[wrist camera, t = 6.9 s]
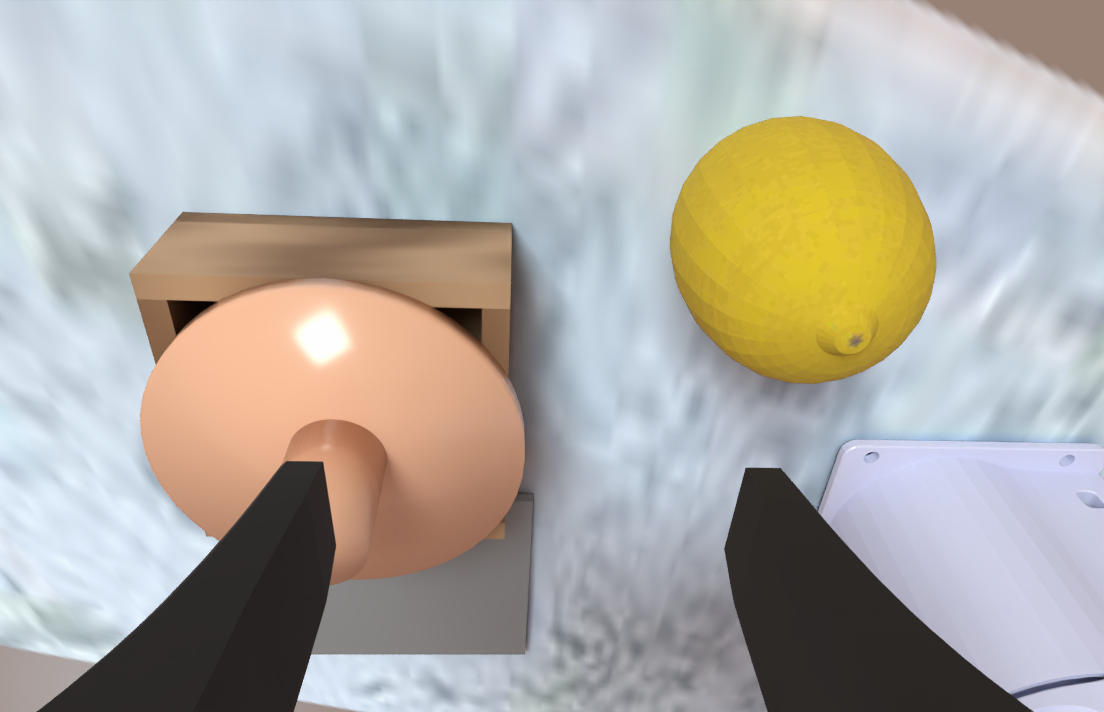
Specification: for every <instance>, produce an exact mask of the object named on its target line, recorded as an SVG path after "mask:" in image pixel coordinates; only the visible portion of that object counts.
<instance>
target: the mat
mask: <svg viewBox="0 0 1104 712" xmlns="http://www.w3.org/2000/svg"><path fill="white" fill-rule="evenodd" d="M532 516H533V493H517V496H516V498H515V500H514V502H513V503H512V505H511V507H510V509H509V511H508V512H507V514H506V515H505V536H504V539H483V540H481V541H480V542H479V543H477V544H476V545H475V546H473V547H472V548H471V549H469V550H467V551H466V552H464V553H462V554H461V555H459V556H457V557H455V558H453V559H451V560H449V561H447V562H444V563H442V564H440V565H438V566H435V567H432V568H429V569H425V570H422V571H419V572H415V573H411V574H406V575H402V576H397V577H389V578H380V579H362V580H350V579H349V580H347V581H345V582H342V583H339V584H334V585H329V591H328V596H327V602H326V605H325V609H324V612H323V616H322V619H321V622H320V626H319V629H318V633H317V636H316V639H315V643H314V646H313V649H312V653H311V654H525V645H526V627H527V608H528V590H529V571H530V553H531V534H532Z"/></svg>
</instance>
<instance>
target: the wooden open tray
mask: <svg viewBox="0 0 1104 712" xmlns="http://www.w3.org/2000/svg"><path fill="white" fill-rule="evenodd" d="M511 249H512V223H493V222H463V221H433V220H403V219H373V218H343V217H313V216H283V215H253V214H223V213H193V212H182V213H181V215H180V216H179V217H178V218H177V219H176V220H175V222H174V223H173V224H172V225H171V226H170V227H169V228H168V230H167V231H166V232H165V233H164V234H163V235H162V236H161V238H160V239H159V240H158V241H157V242H156V243H155V244H154V246H153V247H152V248H151V249H150V250H149V251H148V253H147V254H146V255H145V256H144V257H143V258H142V259H141V261H140V262H139V263H138V264H137V265H136V266H135V267H134V269H133V270H132V271H131V272H130V273H129V275H130V278H131V281H132V285H133V288H134V292H135V295H136V298H137V302H138V305H139V309H140V312H141V315H142V319H143V322H144V326H145V329H146V332H147V336H148V339H149V343H150V346H151V349H152V353H153V356H154V360H155V363H156V364H157V363H158V361H159V359H160V358H161V356H162V355H163V353H164V352H165V350H166V349H167V347H168V346H169V344H170V343H171V341H172V340H173V339H174V338H175V337H176V335H177V334H178V333H179V332H180V331H181V330H182V328H183V327H184V326H185V325H186V324H187V323H188V322H190V321H191V320H192V319H193V318H194V317H196V316H197V315H198V314H199V313H200V312H201V311H203V310H205V309H206V308H208V307H210V306H211V305H213V304H214V303H216V302H218V301H219V300H221V299H223V298H225V297H228V296H230V295H233V294H235V293H237V292H240V291H242V290H244V289H248V288H252V287H255V286H259V285H263V284H266V283H270V282H277V281H284V280H291V279H310V278H327V279H338V280H350V281H356V282H361V283H366V284H370V285H375V286H380V287H383V288H386V289H389V290H392V291H396V292H399V293H402V294H405V295H407V296H409V297H412V298H414V299H416V300H418V301H421V302H423V303H425V304H427V305H430V306H431V307H433V308H435V309H437V310H438V311H440V312H442V313H443V314H445V315H447V316H448V317H450V318H452V319H453V320H455V321H456V322H457V323H458V324H460V325H461V326H462V327H464V328H465V329H466V330H468V331H469V332H470V333H472V334H473V335H474V336H475V337H476V338H477V339H478V340H479V341H480V342H481V343H482V344H483V345H484V346H485V347H486V348H487V349H488V350H489V351H490V352H491V354H492V355H493V356H494V358H495V359H496V360H497V361H498V363H499V364H500V365H501V366H502V368H503V369H504V371H505V373H506V375H507V376H508V378H509V339H510V299H511ZM205 533H206V536H211V535H210V534H208V533H207V532H206V531H205ZM504 536H505V516H504V518H503V519H502V520H501V522H500V523H499V524H498V525H497V526H496V527H495V528H494V529H493V530H492V531H491V532H490V533H489V534H488V535H487V536H486V537H485V538H484V539H504Z"/></svg>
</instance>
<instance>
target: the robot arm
mask: <svg viewBox="0 0 1104 712" xmlns="http://www.w3.org/2000/svg"><path fill="white" fill-rule="evenodd" d="M869 452H873V453H871V454H870V455H866V454H868V453H869ZM865 455H866V456H865ZM1103 467H1104V448H1103V447H1102V446H1101V445H1100V444H1090V443H1031V442H973V441H914V440H851V441H849V442H847V443H845V444H844V445H843V446H842V447H841V449H840V450H839V453H838V456H837V459H836V462H835V464H834V467H833V470H832V473H831V476H830V479H829V482H828V484H827V487H826V490H825V493H824V496H823V499H822V501H821V504H820V507H819V510H818V511H817V510H816V509H815V508H814V507H813V506H812V504H811V503H810V502H809V501H808V500H807V499H806V497H805V496H804V495H803V494H802V493H801V491H800V490H799V489H798V488H797V487H796V486H795V484H794V483H793V482H792V481H791V480H790V479H789V477H788V476H787V475H786V474H785V473H784V472H783V471H782V469H781V468H746V469H745V473H744V477H743V480H742V484H741V488H740V492H739V495H738V499H737V503H736V507H735V511H734V514H733V518H732V522H731V526H730V529H729V533H728V537H727V541H726V545H725V548H724V549H725V555H726V561H727V567H728V573H729V579H730V584H731V589H732V594H733V600H734V604H735V608H736V611H737V615H738V618H739V621H740V624H741V628H742V631H743V634H744V637H745V641H746V644H747V647H748V650H749V654H750V657H751V660H752V663H753V666H754V669H755V673H756V676H757V679H758V682H759V685H760V689H761V692H762V695H763V698H764V701H765V704H766V708H767V711H768V712H1104V478H1103V477H1102V476H1101V475H1100V474H1099V473H1100V472H1101V470H1102V468H1103ZM335 550H336V540H335V534H334V527H333V521H332V514H331V508H330V502H329V495H328V489H327V482H326V476H325V470H324V463H323V461H286V462H285V463H283V464H282V465H281V466H280V467H279V469H278V470H277V471H276V472H275V474H274V475H273V476H272V478H271V479H270V480H269V482H268V483H267V484H266V485H265V487H264V488H263V489H262V490H261V492H260V493H259V494H258V496H257V497H256V498H255V499H254V501H253V502H252V503H251V504H250V506H249V507H248V508H247V509H246V510H245V512H244V513H243V514H242V515H241V517H240V518H239V519H238V520H237V521H236V523H235V524H234V525H233V526H232V527H231V529H230V530H229V531H228V532H227V533H226V534H225V535H224V537H223V538H222V539H221V540H220V541H219V542H218V544H217V545H216V546H215V547H214V548H213V549H212V550H211V552H210V553H209V554H208V555H207V556H206V557H205V558H204V560H203V561H202V562H201V563H200V564H199V565H198V566H197V567H196V568H195V569H194V570H193V571H192V572H191V573H190V575H189V576H188V577H187V578H186V579H185V580H184V581H183V582H182V583H181V584H180V585H179V586H178V587H177V588H176V589H175V590H174V591H173V592H172V593H171V594H170V595H169V597H168V598H167V599H166V600H165V601H164V602H163V603H162V604H161V605H160V606H159V607H158V608H157V609H156V610H155V611H154V612H153V613H152V614H150V615H149V616H148V617H147V618H146V619H145V620H144V621H143V622H142V623H141V624H140V625H139V626H138V627H137V628H136V629H135V630H134V631H133V632H131V633H130V634H129V635H128V636H127V637H126V638H125V639H124V640H123V641H122V642H120V643H119V644H118V645H117V646H116V647H115V648H114V649H113V650H112V651H110V652H109V653H108V654H107V655H106V656H105V657H104V658H102V659H101V660H100V661H99V662H98V663H96V664H95V665H94V666H93V667H92V668H90V669H89V670H88V671H87V672H86V673H84V674H83V675H82V676H81V677H80V678H78V679H77V680H76V681H75V682H74V683H73V684H71V685H70V686H69V687H68V688H66V689H65V690H64V691H63V692H61V693H60V694H59V695H58V696H56V697H55V698H54V699H53V700H51V701H50V702H49V703H47V704H46V705H45V706H44V707H43V708H41V709H40V710H38V711H37V712H294V708H295V705H296V702H297V699H298V695H299V692H300V689H301V686H302V682H303V679H304V676H305V672H306V669H307V666H308V663H309V659H310V656H311V653H312V649H313V646H314V643H315V639H316V636H317V633H318V629H319V626H320V622H321V619H322V616H323V612H324V609H325V605H326V602H327V596H328V591H329V585H330V580H331V574H332V568H333V562H334V556H335Z"/></svg>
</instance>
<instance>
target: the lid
mask: <svg viewBox="0 0 1104 712" xmlns="http://www.w3.org/2000/svg"><path fill="white" fill-rule="evenodd" d="M140 422H141V436H142V440H143V444H144V449H145V453H146V456H147V458H148V460H149V463H150V465H151V468H152V470H153V472H154V474H155V476H156V477H157V479H158V481H159V482H160V484H161V486H162V487H163V489H164V490H165V492H166V493H167V494H168V495H169V497H170V498H171V499H172V500H173V502H174V503H175V504H176V505H177V506H178V507H179V508H180V509H181V510H182V511H183V512H184V513H185V514H186V515H187V516H188V517H189V518H190V519H191V520H192V521H193V522H194V523H196V524H197V525H198V526H199V527H201V528H202V529H203V530H204V531H206V532H207V533H208V534H210V535H211V536H213V537H214V538H216V539H217V540H219V541H220V540H221V539H222V538H223V537H224V535H225V534H226V533H227V532H228V531H229V530H230V529H231V527H232V526H233V525H234V524H235V523H236V521H237V520H238V519H239V518H240V517H241V515H242V514H243V513H244V512H245V510H246V509H247V508H248V507H249V506H250V504H251V503H252V502H253V501H254V499H255V498H256V497H257V496H258V494H259V493H260V492H261V490H262V489H263V488H264V487H265V485H266V484H267V483H268V482H269V480H270V479H271V478H272V476H273V475H274V474H275V472H276V471H277V470H278V469H279V467H280V466H281V465H282V464H283V463H285V462H286V461H323V463H324V470H325V476H326V482H327V489H328V495H329V502H330V508H331V514H332V521H333V527H334V534H335V540H336V550H335V556H334V562H333V568H332V574H331V580H330V585H334V584H339V583H342V582H345V581H347V580H349V579H350V580H362V579H380V578H389V577H397V576H402V575H406V574H411V573H415V572H419V571H422V570H425V569H429V568H432V567H435V566H438V565H440V564H442V563H444V562H447V561H449V560H451V559H453V558H455V557H457V556H459V555H461V554H462V553H464V552H466V551H467V550H469V549H471V548H472V547H473V546H475V545H476V544H477V543H479V542H480V541H481V540H483V539H484V538H485V537H486V536H487V535H488V534H489V533H490V532H491V531H492V530H493V529H494V528H495V527H496V526H497V525H498V524H499V523H500V522H501V520H502V519H503V518H504V516H505V515H506V514H507V512H508V511H509V509H510V507H511V505H512V503H513V502H514V500H515V498H516V496H517V493H518V490H519V487H520V484H521V481H522V477H523V470H524V463H525V437H524V421H523V416H522V411H521V406H520V403H519V400H518V398H517V395H516V393H515V390H514V387H513V385H512V383H511V382H510V380H509V378H508V376H507V375H506V373H505V371H504V369H503V368H502V366H501V365H500V364H499V363H498V361H497V360H496V359H495V358H494V356H493V355H492V354H491V352H490V351H489V350H488V349H487V348H486V347H485V346H484V345H483V344H482V343H481V342H480V341H479V340H478V339H477V338H476V337H475V336H474V335H473V334H472V333H470V332H469V331H468V330H466V329H465V328H464V327H462V326H461V325H460V324H458V323H457V322H456V321H455V320H453V319H452V318H450V317H448V316H447V315H445V314H443V313H442V312H440V311H438V310H437V309H435V308H433V307H431V306H430V305H427V304H425V303H423V302H421V301H418V300H416V299H414V298H412V297H409V296H407V295H405V294H402V293H399V292H396V291H392V290H389V289H386V288H383V287H380V286H375V285H370V284H366V283H361V282H356V281H350V280H338V279H327V278H310V279H291V280H284V281H277V282H270V283H266V284H263V285H259V286H255V287H252V288H248V289H244V290H242V291H240V292H237V293H235V294H233V295H230V296H228V297H225V298H223V299H221V300H219V301H218V302H216V303H214V304H213V305H211V306H210V307H208V308H206V309H205V310H203V311H201V312H200V313H199V314H198V315H197V316H196V317H194V318H193V319H192V320H191V321H190V322H188V323H187V324H186V325H185V326H184V327H183V328H182V330H181V331H180V332H179V333H178V334H177V335H176V337H175V338H174V339H173V340H172V341H171V343H170V344H169V346H168V347H167V349H166V350H165V352H164V353H163V355H162V356H161V358H160V359H159V361H158V363H157V364H156V366H155V368H154V370H153V371H152V373H151V375H150V377H149V379H148V382H147V385H146V388H145V391H144V394H143V398H142V405H141V413H140Z"/></svg>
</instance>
